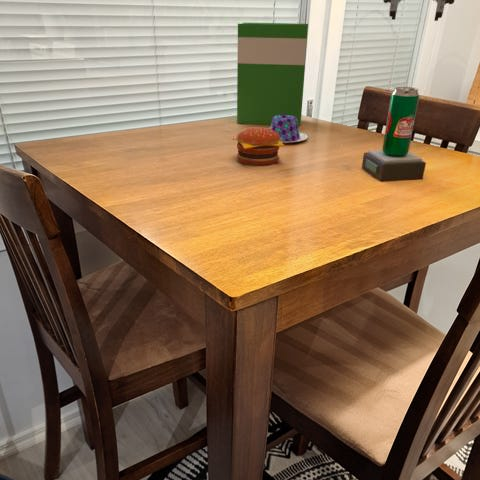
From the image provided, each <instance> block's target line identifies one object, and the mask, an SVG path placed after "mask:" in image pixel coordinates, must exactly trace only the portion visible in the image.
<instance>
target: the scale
mask: <svg viewBox="0 0 480 480" xmlns="http://www.w3.org/2000/svg"><path fill="white" fill-rule="evenodd" d="M362 157H363V158H362V164H361V169H362V170H363V171H364V172H366V173H368V174H370V175H371V176H372V177H374V178H375V179H376V180H378V181H380V182H393V181H394V182H395V181H410V180H411V181H412V180H423V179H424V174H425V169H426V165H427V162H425V161H424V160H423V158H422V157H420V156H418V155H416V154H414V153H413V152H410V151H409V152H408V153H407V154H406V155H405V156H403V157H392V156H387V155H385V154H384V153H383V151H382V149H370V150H368V151H367V152H363V156H362Z"/></svg>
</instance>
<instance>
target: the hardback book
mask: <svg viewBox="0 0 480 480" xmlns="http://www.w3.org/2000/svg"><path fill="white" fill-rule="evenodd" d="M308 30H309V23H294V22H293V23H291V22H290V23H289V22H247V21H245V22H237V68H236V70H237V71H236V72H237V73H236V75H237V79H236V80H237V83H236V84H237V85H236V96H237V97H236V124H245V125H246V124H247V125H249V124H250V125H270V126H271V124H272V120H273V118H274V116H278V115H289V116H294V117H296V118H297V121H298V127H301V123H302V115H303V114H302V113H303V99H304V97H303V96H304V86H305V74H306V73H305V72H306V59H307V58H306V57H307V46H308V33H309V31H308Z"/></svg>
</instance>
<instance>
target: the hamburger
mask: <svg viewBox="0 0 480 480" xmlns="http://www.w3.org/2000/svg"><path fill="white" fill-rule="evenodd" d="M280 139H281V138H280V135H279V134H278V133H276V132H275V131H273V130H271V129H270V128H268V127H262V126H253V127H248V128H247V127H246V128H245V129H243V130H242V131H240V132H239V133H238V134H237V135H236V137H233V138H232V140H233V141H236V142H237V144H236V148H237V154H236V159H237V161H238V162H240V163H242V164H245V165H250V166H266V165H273V164H275V163H277V162H278V161H279V159H280V156H279V149H280V147H283V148H284V147H285V144H284V143H282V142H281V141H280Z"/></svg>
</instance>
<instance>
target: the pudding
mask: <svg viewBox="0 0 480 480" xmlns="http://www.w3.org/2000/svg"><path fill="white" fill-rule="evenodd" d="M299 127H300V126H298V121H297V118H296V117H294V116H289V115H278V116H274V118H273V120H272V124H271V125H270V128H269V129H271V130H273V131H275V132H276V133H278V134H279V135H280V138H281V139H280V141H281V142H282V143H283V144H292V143H297V142H302V141H305V140H307V139H308V138H309V136H308V135H307V134H306V133H303V132H300V128H299Z"/></svg>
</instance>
